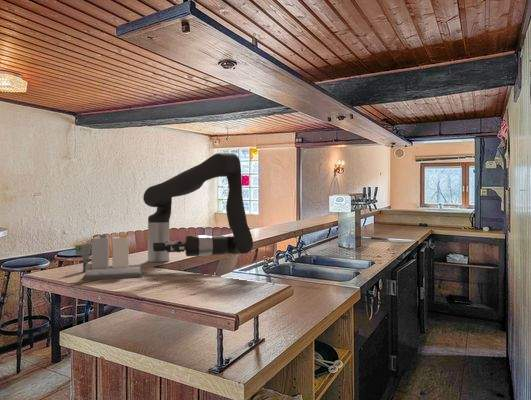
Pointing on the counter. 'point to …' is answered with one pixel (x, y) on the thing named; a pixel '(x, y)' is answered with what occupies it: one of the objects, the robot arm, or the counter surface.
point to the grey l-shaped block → (106, 263)
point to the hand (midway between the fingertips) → (153, 247)
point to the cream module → (120, 252)
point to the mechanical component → (84, 253)
